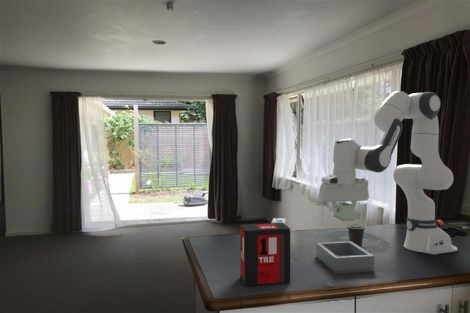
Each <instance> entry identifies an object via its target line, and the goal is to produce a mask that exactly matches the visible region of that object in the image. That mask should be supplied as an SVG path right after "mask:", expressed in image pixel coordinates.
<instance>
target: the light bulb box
mask: <svg viewBox="0 0 470 313" xmlns="http://www.w3.org/2000/svg"><path fill="white" fill-rule="evenodd" d="M270 223H284V224H285V225H286V226H287V218H280V217H279V218H278V217H273V219H272V221H271V222H270Z"/></svg>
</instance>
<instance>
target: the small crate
mask: <svg viewBox="0 0 470 313" xmlns="http://www.w3.org/2000/svg"><path fill="white" fill-rule="evenodd" d="M335 205H336V207H337V208H339V212H337V213H335V212H334V211H333V217H334V218H336V219H338V220H340V221H342V222H349V221H350V222H351V221H352V222H353V221H354V222H355V221H356V220H355V219H356V206H354V205H352V203H349V202H348V201H342V202H337V204H335Z"/></svg>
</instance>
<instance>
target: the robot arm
mask: <svg viewBox="0 0 470 313" xmlns="http://www.w3.org/2000/svg"><path fill="white" fill-rule="evenodd" d="M441 106H442V101H441V99H440V97H439V94H437V93H436V92H433V91H432V92H431V91H424V92H416V93H410V94H408V93H406V92H405V91H399V90H397V91H394V92H391V93H390V95H389V96H387V97H386V98H385V100H383V102H382V103H381V104H380V106H379V107H378V109H377V110H376V112H375V114H374V118H373V121H374V124H375V125H376V127H377V128H378V129H379V130H380V131H382V132H384V134H383V136H382V138H381V140H380V143H379V144H377V145H375V146H362V145H360V144H359V143H357V142H356V141H355V139H353V138H342V139H338V140H336V141H335V143H334V144H333V145H334V146H333V153H332V154H333V155H332V161H333V170H332V173H331V174H328V175H326V176H322V178H321V182H322V183H321V184H320V185H319V186H320V187H319V194H318V199H319V200H320V201H321V202H323V203H330V204H331V206H332V207H333V213H334V212H335V213H337V212H339V208H337V207H336V205H335V204H337V202H351V203H350V204H352V205H354V206H355V207H356V206H357V204H358V203H357V202H366V201H369V198H370V197H369V196H370V195H369V181H368V180H367V179H366V178H365V177H361V178H360V177H357V175H356V172H357V171H356V170H360V171H368V172H373V173H378V174H379V173H383V172H384V171H385V170H386V169H388V167H389V166H390V163H391V160H392V155H393V153H394V150H395V148H396V146H397V144H398V142H399V140H400V138H401V135H402V132H403V127H404V124H403V120H406V119H408V120H410V119H412V121H413V124H412V129H411V139H410V150H411V153H412V154H414V155H415V156H416V157H418V158H419V159H420V160H421V164H417V163H416V164H414V163H413V164H412V163H405V164H400V165H398V166H397V167H395V168H394V171H393V180H394V182H395V183H396V185H398V186H399V187H400V188H401V190H402V191H403V193H404V195H405V197H406V200H407V201H406V202H407V217H406V228H407V229H406V235H405V241H404V244H403V247H404V248H405V249H407V250H410V251H413V252H419V253H425V254H430V255H438V254H445V253H446V254H447V253H453V252H458V251H459V250H458V247H457V246H455V245H453V244H452V238H451V236H450V235H449V234H448V233H447V232H446V231H444V230H443V229H441V227H439V225H440V226H442V225H443V224H444V221H443V220H441V219H437V218H436V216H435V215H436V204H435V201H434V200H433V199H432V198H430V197H429V196H427V194H425V191H424V190H431V191H432V190H434V191H442V190H448V189H450V187H452V185H453V182H454V174H453V172H452V170H451V169H450V168H449V167H447V166H446V164H444V162H443V160H442V159H441V157H440V152H439V136H440V134H439V133H440V126H439V117H438V114H439V111H440V109H441Z"/></svg>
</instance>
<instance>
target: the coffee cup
mask: <svg viewBox="0 0 470 313" xmlns="http://www.w3.org/2000/svg"><path fill="white" fill-rule="evenodd" d="M347 229H348V230H347V231H348V239H349V240H348V241H351V242H353V243H354V244H356V245H358V246H359V247H361V248H362V247H363V246H362V245H363V240H364V232H365V230H366V228H365V226H363V225H359V224H357V223H356V224H350V225H348V226H347Z"/></svg>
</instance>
